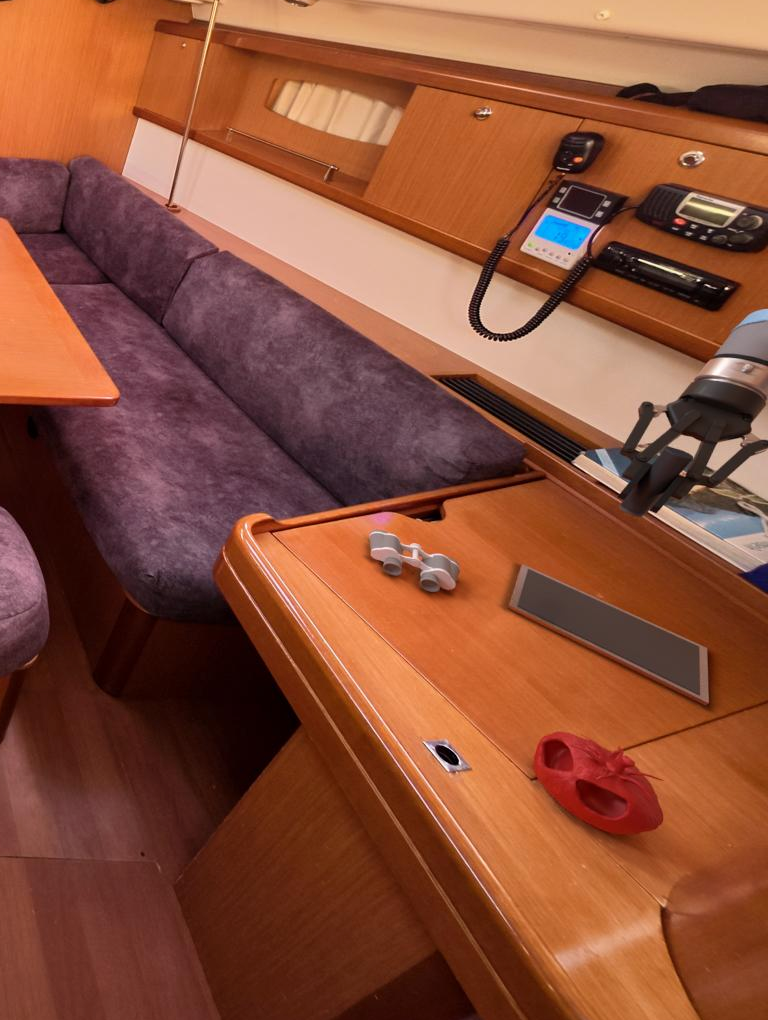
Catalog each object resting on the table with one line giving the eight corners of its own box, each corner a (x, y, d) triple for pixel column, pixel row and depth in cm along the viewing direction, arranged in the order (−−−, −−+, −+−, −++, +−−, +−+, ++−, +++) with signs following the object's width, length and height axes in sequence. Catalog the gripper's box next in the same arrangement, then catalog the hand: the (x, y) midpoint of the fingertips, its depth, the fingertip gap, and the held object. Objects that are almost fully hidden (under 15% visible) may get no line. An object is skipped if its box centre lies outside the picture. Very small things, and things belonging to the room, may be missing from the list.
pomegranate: (575, 755, 81) (619, 713, 77) (668, 848, 72) (723, 806, 68) (498, 752, 81) (538, 710, 77) (581, 844, 72) (631, 802, 68)
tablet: (704, 650, 95) (707, 647, 95) (705, 706, 87) (709, 702, 87) (520, 566, 109) (522, 563, 109) (507, 607, 101) (509, 604, 101)
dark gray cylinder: (644, 512, 104) (693, 453, 99) (643, 520, 103) (693, 460, 97) (618, 503, 106) (665, 445, 101) (617, 510, 105) (665, 451, 99)
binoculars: (454, 575, 107) (464, 560, 105) (455, 603, 102) (465, 588, 100) (366, 538, 114) (374, 524, 113) (362, 563, 109) (371, 548, 107)
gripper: (659, 360, 105) (572, 467, 105) (824, 407, 93) (725, 528, 93) (648, 378, 110) (564, 481, 110) (803, 426, 97) (709, 541, 97)
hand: (638, 502), depth 101 cm, fingers closed on dark gray cylinder, 3 cm apart
